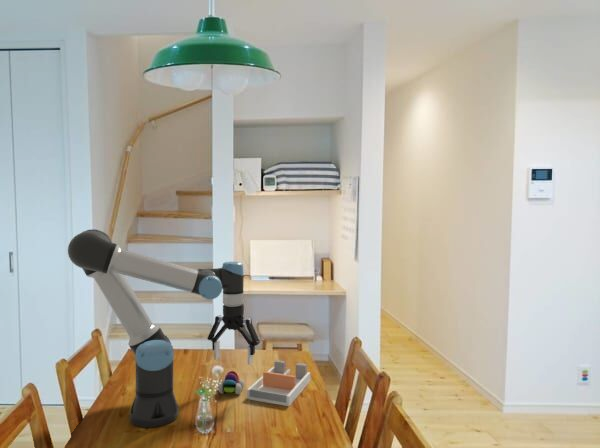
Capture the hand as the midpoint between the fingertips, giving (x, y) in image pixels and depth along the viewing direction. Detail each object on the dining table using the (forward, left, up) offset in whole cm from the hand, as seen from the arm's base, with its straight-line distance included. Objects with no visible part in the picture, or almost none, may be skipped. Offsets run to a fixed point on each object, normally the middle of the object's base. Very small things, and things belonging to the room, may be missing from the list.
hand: (233, 361), depth 170 cm
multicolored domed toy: (0, +1, -12) cm, 12 cm away
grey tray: (+8, -16, -11) cm, 21 cm away
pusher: (+12, -16, -10) cm, 22 cm away
